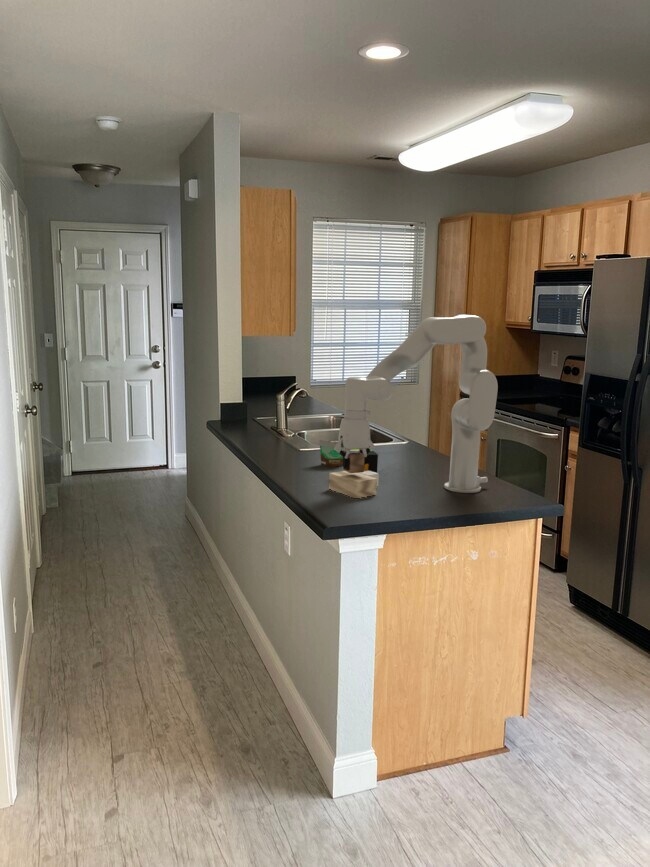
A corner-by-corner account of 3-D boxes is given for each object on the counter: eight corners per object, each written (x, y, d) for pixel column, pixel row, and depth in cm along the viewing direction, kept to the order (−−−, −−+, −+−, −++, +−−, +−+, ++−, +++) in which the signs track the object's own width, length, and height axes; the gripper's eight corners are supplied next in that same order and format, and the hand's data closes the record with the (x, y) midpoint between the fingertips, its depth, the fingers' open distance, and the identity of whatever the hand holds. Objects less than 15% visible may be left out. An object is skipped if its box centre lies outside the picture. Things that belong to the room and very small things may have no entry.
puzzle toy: (349, 482, 253) (350, 454, 251) (343, 475, 263) (344, 449, 261) (376, 482, 255) (378, 454, 253) (369, 475, 265) (370, 448, 263)
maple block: (349, 486, 248) (349, 470, 247) (376, 496, 237) (377, 478, 236) (328, 490, 242) (329, 473, 241) (355, 500, 232) (356, 482, 231)
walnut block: (356, 468, 242) (357, 451, 241) (363, 472, 237) (364, 454, 236) (343, 470, 239) (344, 452, 238) (350, 473, 235) (351, 455, 234)
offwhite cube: (367, 484, 252) (368, 470, 251) (378, 487, 248) (378, 473, 247) (357, 486, 248) (358, 472, 247) (368, 489, 245) (368, 475, 244)
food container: (323, 468, 273) (324, 442, 271) (317, 465, 278) (318, 439, 277) (352, 466, 277) (353, 441, 276) (346, 463, 283) (347, 438, 281)
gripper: (372, 412, 242) (369, 464, 245) (327, 414, 234) (325, 468, 238) (383, 415, 236) (381, 469, 239) (338, 417, 228) (336, 473, 231)
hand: (353, 468), depth 238 cm, fingers closed on walnut block, 5 cm apart
